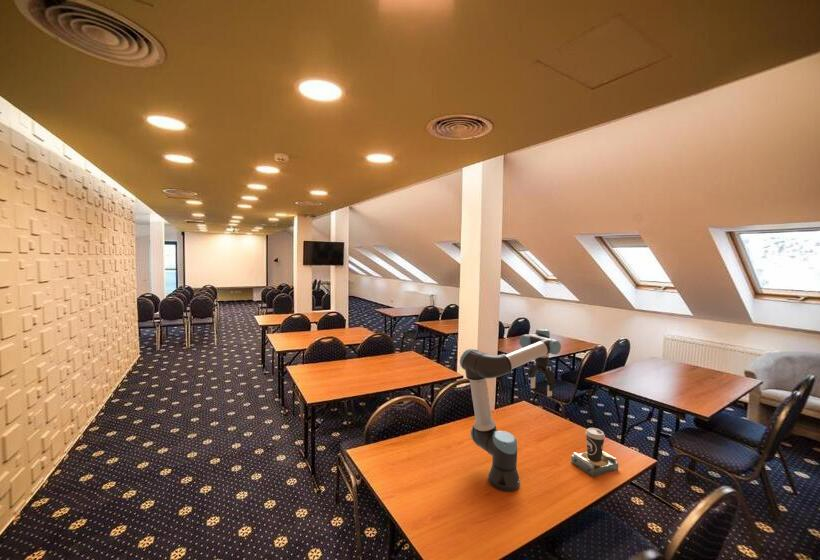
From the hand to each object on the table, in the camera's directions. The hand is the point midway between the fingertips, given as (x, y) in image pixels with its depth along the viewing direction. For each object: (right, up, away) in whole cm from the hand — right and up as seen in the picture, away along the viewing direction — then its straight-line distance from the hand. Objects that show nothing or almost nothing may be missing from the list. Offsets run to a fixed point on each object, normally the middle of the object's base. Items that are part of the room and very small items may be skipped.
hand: (540, 392), depth 200 cm
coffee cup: (+23, -32, -14) cm, 42 cm away
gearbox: (+24, -36, -14) cm, 45 cm away
